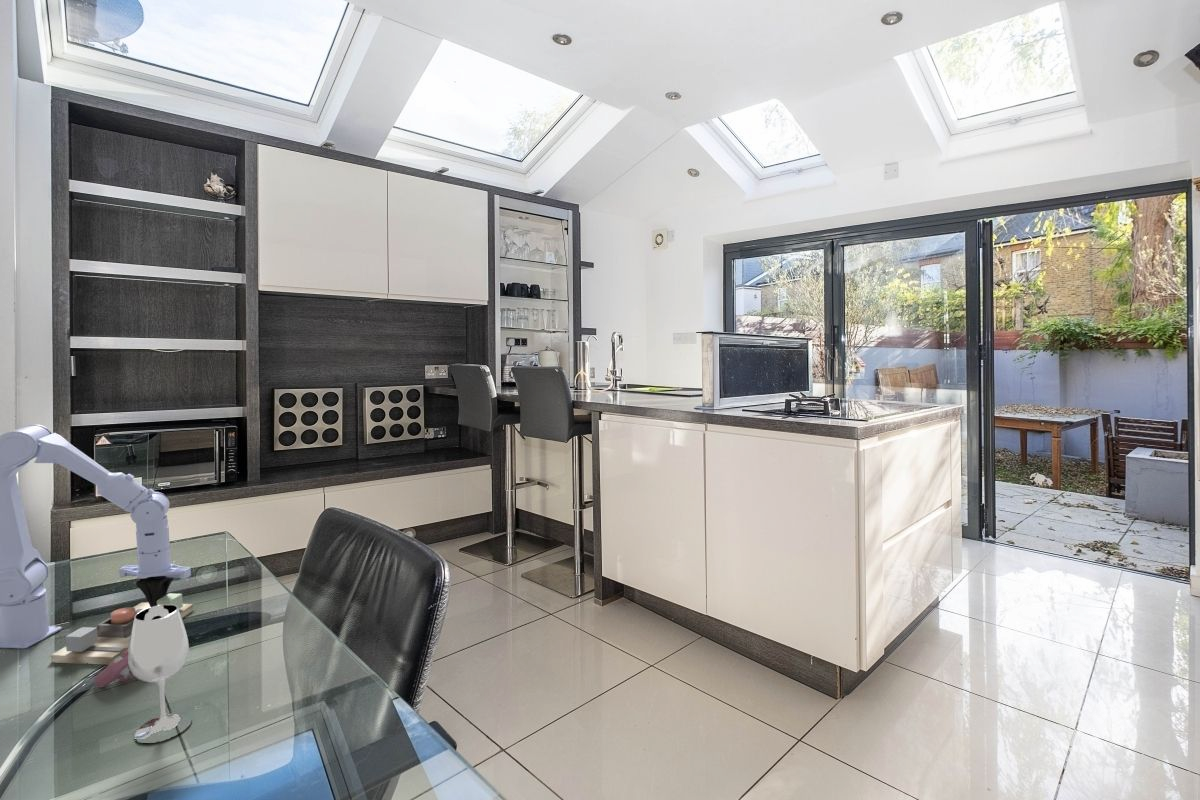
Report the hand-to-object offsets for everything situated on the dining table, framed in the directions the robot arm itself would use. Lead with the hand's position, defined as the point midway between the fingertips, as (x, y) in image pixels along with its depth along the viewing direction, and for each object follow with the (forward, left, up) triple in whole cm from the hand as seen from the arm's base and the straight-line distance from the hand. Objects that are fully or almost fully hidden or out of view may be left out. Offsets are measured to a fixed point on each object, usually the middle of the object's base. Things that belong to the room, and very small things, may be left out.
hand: (157, 607), depth 130 cm
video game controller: (+11, -21, -3) cm, 24 cm away
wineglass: (+28, -35, -3) cm, 45 cm away
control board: (-1, -7, -2) cm, 7 cm away
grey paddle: (-3, -16, 0) cm, 16 cm away
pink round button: (-1, -8, +1) cm, 8 cm away
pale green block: (+3, 0, 0) cm, 3 cm away
